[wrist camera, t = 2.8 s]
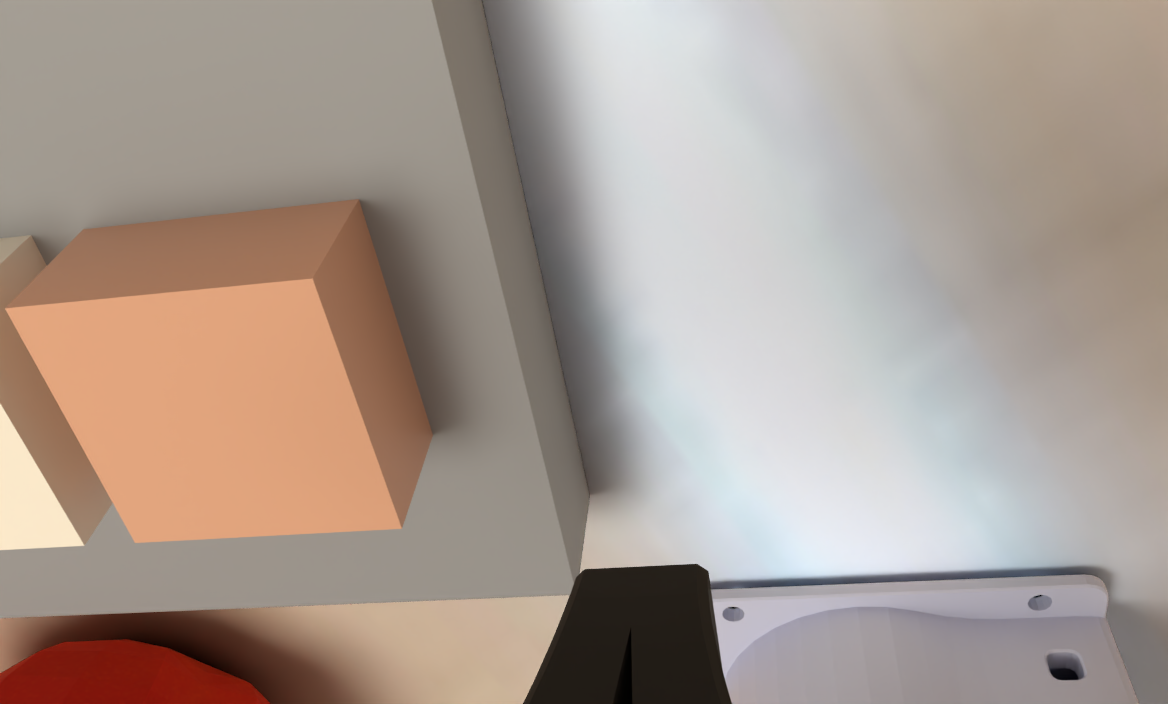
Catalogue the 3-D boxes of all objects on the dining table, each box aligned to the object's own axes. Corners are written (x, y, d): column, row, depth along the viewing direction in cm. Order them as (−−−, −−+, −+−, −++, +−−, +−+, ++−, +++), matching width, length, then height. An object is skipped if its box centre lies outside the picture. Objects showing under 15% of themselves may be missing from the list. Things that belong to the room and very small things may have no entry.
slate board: (448, -153, 17) (404, -111, 15) (589, 496, 25) (576, 594, 22) (-290, -29, 20) (-433, 25, 17) (49, 527, 27) (-16, 618, 25)
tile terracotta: (358, 198, 18) (312, 277, 15) (432, 435, 20) (401, 528, 18) (82, 229, 18) (4, 308, 16) (190, 451, 21) (134, 543, 19)
